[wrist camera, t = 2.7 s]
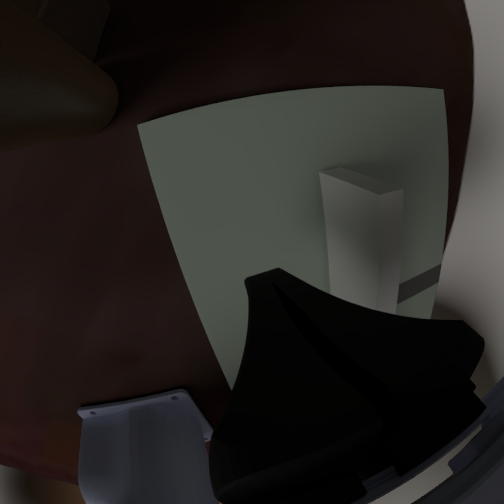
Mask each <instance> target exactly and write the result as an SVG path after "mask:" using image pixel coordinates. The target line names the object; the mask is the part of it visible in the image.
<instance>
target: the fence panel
mask: <svg viewBox="0 0 504 504" xmlns="http://www.w3.org/2000/svg"><path fill="white" fill-rule="evenodd" d="M319 175H320V182H321V190H322V199H323V208H324V217H325V227H326V238H327V249H328V262H329V277H330V294H331V295H333V296H336V297H338V298H341V299H343V300H346V301H348V302H351V303H354V304H357V305H360V306H363V307H367V308H370V309H374V310H377V311H382V312H386V313H391V314H395V313H396V306H397V298H398V289H399V280H400V269H401V256H402V239H403V188H400V187H397V186H395V185H392V184H389V183H386V182H384V181H381V180H378V179H375V178H372V177H369V176H366V175H363V174H360V173H357V172H354V171H351V170H348V169H344V168H341V167H339V168H334V169H330V170H325V171H321V172H319Z"/></svg>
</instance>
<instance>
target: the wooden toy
mask: <svg viewBox="0 0 504 504" xmlns="http://www.w3.org/2000/svg"><path fill="white" fill-rule="evenodd" d="M110 10H111V7H110V5H109V3H108V1H107V0H0V153H3V152H7V151H11V150H16V149H20V148H25V147H30V146H34V145H40V144H45V143H51V142H57V141H63V140H69V139H76V138H84V137H90V136H92V135H94V134H96V133H98V132H100V131H101V130H102V129H103V128H105V127H106V126H107V125H108V124H109V122H110V121H111V119H112V118H113V116H114V114H115V112H116V109H117V106H118V95H119V93H118V90H117V86H116V83H115V82H114V81H113V79H112V78H111V76H109V75H108V74H107V73H106V72H105V71H103V70H102V69H101V68H100V67H98V66H97V65H96V64H95V63H93V61H94V59H95V55H96V52H97V49H98V45H99V42H100V39H101V36H102V33H103V30H104V27H105V24H106V21H107V18H108V16H109V13H110Z"/></svg>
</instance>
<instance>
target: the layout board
mask: <svg viewBox="0 0 504 504" xmlns="http://www.w3.org/2000/svg"><path fill="white" fill-rule="evenodd" d="M137 127H138V131H139V134H140V138H141V142H142V146H143V150H144V153H145V157H146V160H147V164H148V167H149V171H150V174H151V178H152V181H153V185H154V188H155V191H156V195H157V198H158V201H159V204H160V207H161V210H162V214H163V217H164V220H165V223H166V226H167V229H168V232H169V235H170V238H171V241H172V244H173V247H174V249H175V252H176V255H177V258H178V261H179V264H180V266H181V269H182V272H183V275H184V277H185V280H186V283H187V285H188V288H189V291H190V293H191V296H192V299H193V301H194V304H195V306H196V309H197V311H198V314H199V316H200V319H201V321H202V324H203V326H204V329H205V331H206V334H207V336H208V338H209V341H210V343H211V345H212V348H213V350H214V352H215V355H216V357H217V359H218V362H219V364H220V366H221V368H222V371H223V373H224V375H225V377H226V380H227V382H228V384H229V386H230V388H231V390H232V389H233V386H234V384H235V381H236V378H237V375H238V371H239V368H240V364H241V360H242V356H243V352H244V347H245V342H246V335H247V326H248V295H247V291H246V287H245V283H244V280H245V279H246V278H247V277H250V276H253V275H256V274H259V273H262V272H266V271H269V270H272V269H275V268H278V267H279V268H281V269H283V270H285V271H287V272H288V273H290V274H292V275H294V276H295V277H297V278H299V279H301V280H303V281H304V282H306V283H308V284H310V285H312V286H314V287H316V288H318V289H320V290H322V291H324V292H327V293H329V294H330V277H329V262H328V249H327V238H326V227H325V217H324V208H323V199H322V190H321V182H320V175H319V172H321V171H325V170H330V169H334V168H339V167H341V168H344V169H348V170H351V171H354V172H357V173H360V174H363V175H366V176H369V177H372V178H375V179H378V180H381V181H384V182H386V183H389V184H392V185H395V186H397V187H400V188H403V239H402V256H401V269H400V280H399V289H398V298H397V306H396V313H395V315H401V316H407V317H414V318H422V319H430V317H431V313H432V308H433V304H434V300H435V295H436V290H437V285H438V282H439V276H440V270H441V262H442V255H443V247H444V239H445V229H446V218H447V204H448V173H449V165H448V134H447V120H446V109H445V100H444V92H443V89H434V88H422V87H405V86H343V87H326V88H313V89H302V90H293V91H285V92H277V93H270V94H263V95H257V96H251V97H245V98H240V99H235V100H230V101H225V102H220V103H215V104H211V105H207V106H202V107H198V108H194V109H190V110H186V111H183V112H179V113H175V114H172V115H168V116H165V117H161V118H158V119H155V120H152V121H148V122H145V123H142V124H139V125H137Z"/></svg>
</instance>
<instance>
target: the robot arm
mask: <svg viewBox="0 0 504 504" xmlns="http://www.w3.org/2000/svg"><path fill="white" fill-rule="evenodd" d="M244 283H245V287H246V291H247V295H248V326H247V335H246V342H245V347H244V352H243V356H242V360H241V364H240V368H239V371H238V375H237V378H236V381H235V384H234V386H233V389H232V391H231V394H230V397H229V399H228V402H227V404H226V407H225V409H224V411H223V413H222V415H221V417H220V419H219V421H218V423H217V425H216V427H215V429H214V430H213V429H212V427H211V426H210V424H209V423H208V422H207V420H206V419H205V417H204V416H203V414H202V413H201V411H200V410H199V409H198V407H197V406H196V404H195V403H194V401H193V400H192V398H191V396H190V395H189V393H188V392H187V391H186V390H184V389H177V390H173V391H168V392H164V393H160V394H155V395H151V396H146V397H141V398H136V399H131V400H125V401H120V402H114V403H108V404H101V405H95V406H87V407H80V408H78V414H79V415H80V416H81V417H82V418H83V424H82V432H81V442H80V454H79V469H78V481H79V486H80V490H81V493H82V496H83V498H84V500H85V502H86V504H219V502H221V503H223V504H368V503H370V502H372V501H374V500H376V499H378V498H380V497H382V496H383V495H385V494H387V493H389V492H390V491H392V490H394V489H396V488H397V487H399V486H401V485H402V484H404V483H406V482H407V481H409V480H410V479H412V478H414V477H415V476H416V475H418V474H419V473H421V472H423V471H424V470H425V469H427V468H428V467H430V466H431V465H432V464H434V463H435V462H437V461H438V460H439V459H441V458H442V457H443V456H445V455H446V454H447V453H448V452H450V451H451V450H452V449H453V448H455V447H456V446H457V445H458V444H459V443H461V442H462V441H463V440H464V439H465V438H466V437H468V436H469V435H470V434H471V433H472V432H473V431H474V430H475V429H477V428H478V427H479V426H480V425H481V424H482V430H480V431H479V433H477V434H476V435H475V436H474V437H473V439H471V441H470V442H469V443H468V444H467V445H466V446H465V447H464V448H463V449H462V450H461V451H460V452H459V453H458V454H457V455H456V456H454V457H453V458H452V459H451V460H450V461H449V462H448V465H449V467H450V468H451V470H452V471H453V475H451V476H450V477H449V478H447V479H446V480H445V481H443V482H442V483H441V484H439V485H438V486H437V487H435V488H434V489H432V490H431V491H429V492H428V493H427V494H425V495H424V496H422V497H421V498H419V499H418V500H416V501H415V502H413V503H411V504H504V377H503V378H502V379H501V380H500V381H499V382H498V383H497V384H496V385H495V386H494V387H493V388H492V389H491V390H490V391H489V392H488V393H487V394H486V395H485V396H484V397H483V398H482V399H481V400H480V399H479V398H478V397H477V396H476V394H474V392H473V391H474V390H475V388H476V387H475V384H474V383H473V382H472V381H471V380H470V377H471V376H472V374H473V372H474V370H475V368H476V366H477V364H478V362H479V360H480V358H481V356H482V354H483V350H484V346H485V342H484V339H483V338H482V337H481V336H480V335H479V334H478V333H477V332H476V331H475V330H473V329H472V328H471V327H470V326H469V325H468V324H467V323H465V322H464V321H463V320H432V319H422V318H414V317H407V316H401V315H395V314H391V313H386V312H382V311H377V310H374V309H370V308H367V307H363V306H360V305H357V304H354V303H351V302H348V301H346V300H343V299H341V298H338V297H336V296H333V295H331V294H329V293H327V292H324V291H322V290H320V289H318V288H316V287H314V286H312V285H310V284H308V283H306V282H304V281H303V280H301V279H299V278H297V277H295V276H294V275H292V274H290V273H288V272H287V271H285V270H283V269H281V268H279V267H278V268H275V269H272V270H269V271H266V272H262V273H259V274H256V275H253V276H250V277H247V278H246V279H245V280H244ZM206 441H210V449H209V460H208V455H207V450H206V446H205V442H206Z"/></svg>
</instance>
